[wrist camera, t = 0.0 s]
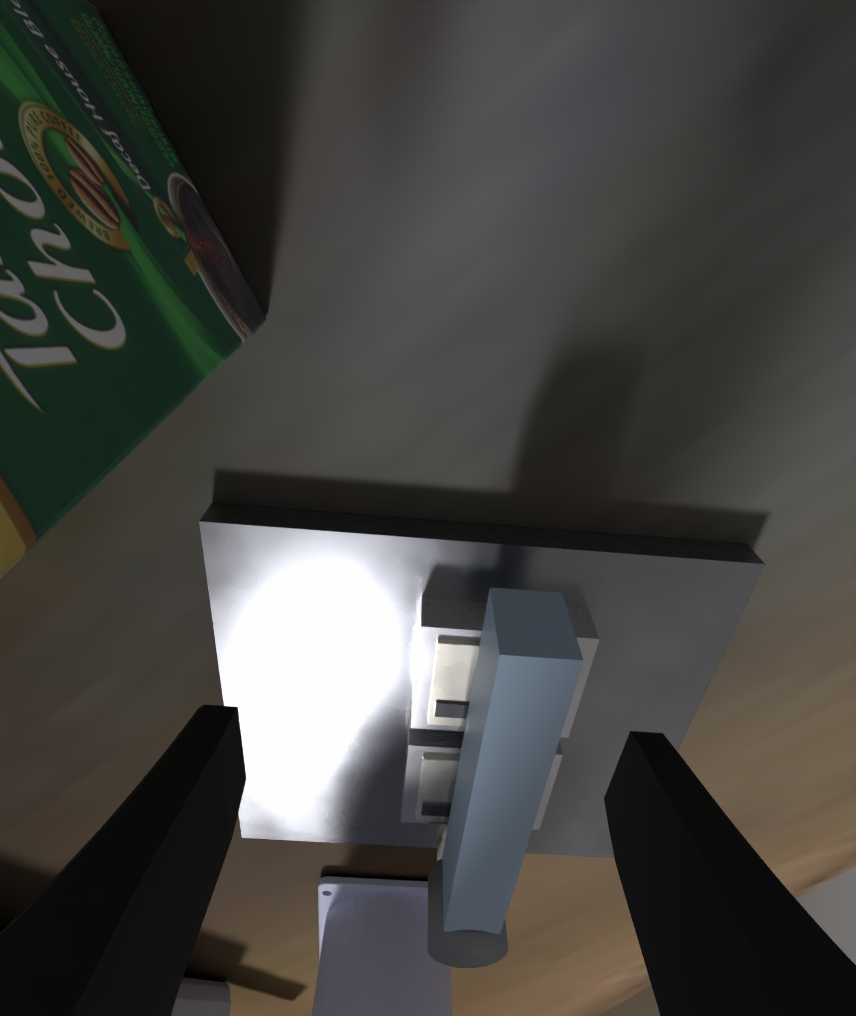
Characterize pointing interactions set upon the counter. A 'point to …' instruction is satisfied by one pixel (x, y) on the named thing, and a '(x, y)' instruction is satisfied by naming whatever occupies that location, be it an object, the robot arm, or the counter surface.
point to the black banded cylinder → (202, 998)
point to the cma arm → (501, 771)
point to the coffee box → (94, 268)
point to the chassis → (444, 662)
